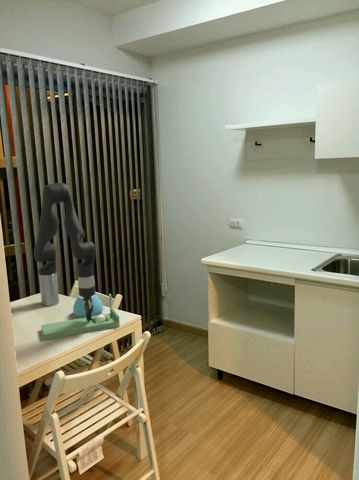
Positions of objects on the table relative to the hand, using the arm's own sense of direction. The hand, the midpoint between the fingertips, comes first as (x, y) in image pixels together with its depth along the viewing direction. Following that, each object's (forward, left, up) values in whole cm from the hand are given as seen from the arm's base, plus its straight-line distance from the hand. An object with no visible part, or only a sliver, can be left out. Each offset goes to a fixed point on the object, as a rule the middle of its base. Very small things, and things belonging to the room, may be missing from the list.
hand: (88, 320), depth 192 cm
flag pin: (+1, +11, -1) cm, 11 cm away
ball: (0, +5, -1) cm, 5 cm away
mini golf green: (0, -4, -3) cm, 5 cm away
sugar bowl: (-17, +3, -4) cm, 18 cm away
